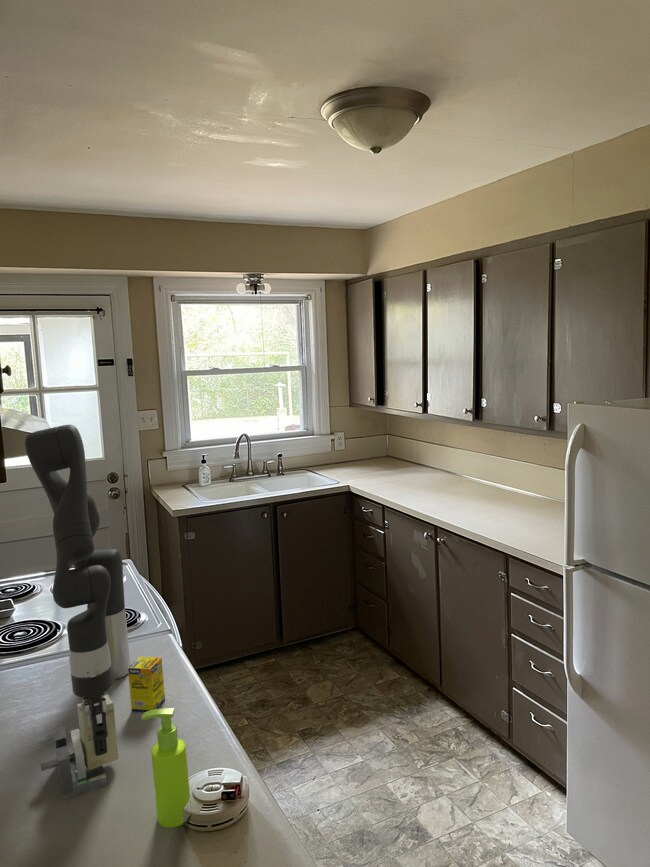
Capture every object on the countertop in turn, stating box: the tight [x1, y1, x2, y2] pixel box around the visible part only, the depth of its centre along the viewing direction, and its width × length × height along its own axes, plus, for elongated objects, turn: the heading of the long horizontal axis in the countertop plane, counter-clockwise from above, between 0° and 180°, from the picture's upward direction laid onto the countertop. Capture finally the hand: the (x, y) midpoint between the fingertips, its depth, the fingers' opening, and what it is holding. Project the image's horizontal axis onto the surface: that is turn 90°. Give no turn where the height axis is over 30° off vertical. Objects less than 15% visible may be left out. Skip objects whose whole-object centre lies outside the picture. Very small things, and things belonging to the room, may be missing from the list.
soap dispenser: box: [141, 707, 191, 829], centre depth 113 cm, size 6×7×20 cm
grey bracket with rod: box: [53, 726, 108, 800], centre depth 127 cm, size 12×8×8 cm, turn 27°
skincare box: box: [76, 693, 119, 770], centre depth 128 cm, size 6×4×12 cm
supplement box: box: [127, 656, 166, 713], centre depth 151 cm, size 6×6×11 cm
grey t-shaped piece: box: [40, 728, 86, 782], centre depth 126 cm, size 10×8×6 cm
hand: (99, 746), depth 129 cm, fingers closed on skincare box, 4 cm apart
